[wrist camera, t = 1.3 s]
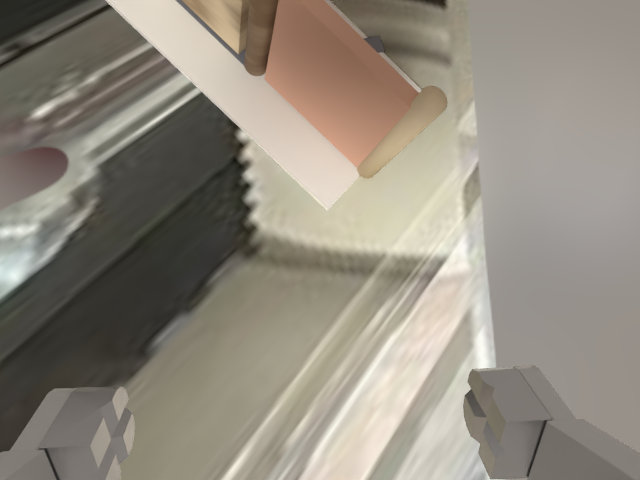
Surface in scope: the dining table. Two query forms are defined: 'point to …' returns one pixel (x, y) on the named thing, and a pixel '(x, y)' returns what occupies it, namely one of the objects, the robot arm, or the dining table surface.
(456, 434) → the dining table surface
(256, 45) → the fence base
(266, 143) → the card
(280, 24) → the swing panel
